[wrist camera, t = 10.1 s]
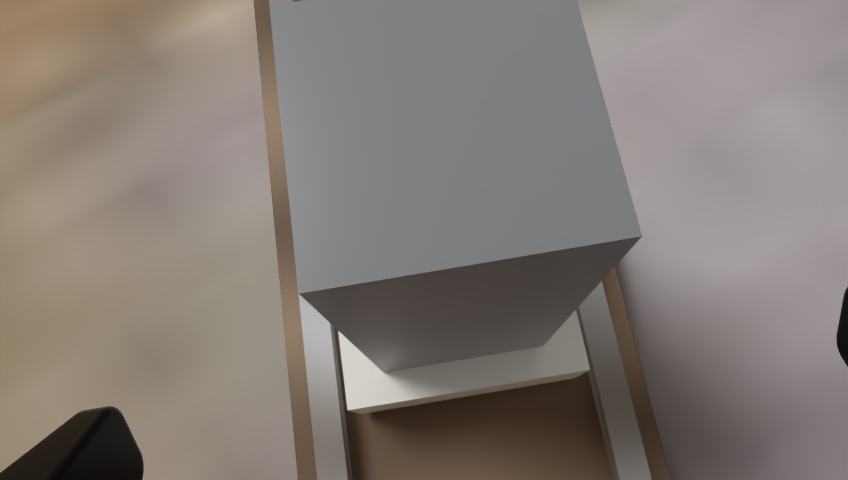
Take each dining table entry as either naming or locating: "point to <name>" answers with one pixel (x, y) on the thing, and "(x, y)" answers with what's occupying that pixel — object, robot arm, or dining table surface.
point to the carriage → (448, 189)
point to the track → (467, 416)
